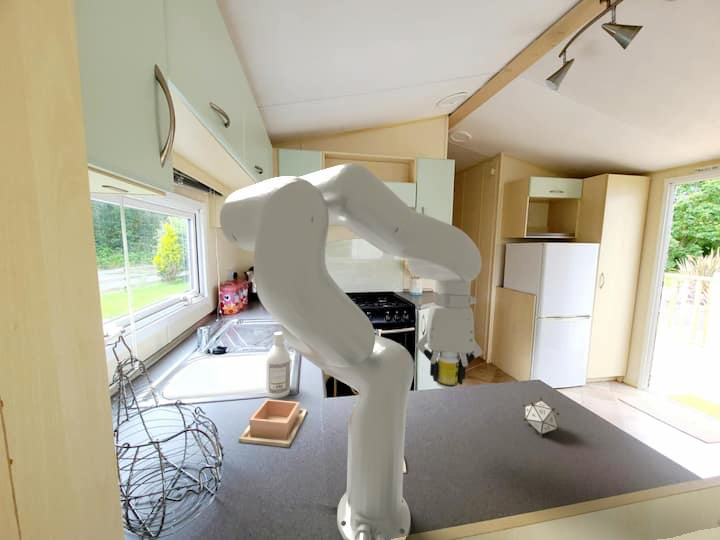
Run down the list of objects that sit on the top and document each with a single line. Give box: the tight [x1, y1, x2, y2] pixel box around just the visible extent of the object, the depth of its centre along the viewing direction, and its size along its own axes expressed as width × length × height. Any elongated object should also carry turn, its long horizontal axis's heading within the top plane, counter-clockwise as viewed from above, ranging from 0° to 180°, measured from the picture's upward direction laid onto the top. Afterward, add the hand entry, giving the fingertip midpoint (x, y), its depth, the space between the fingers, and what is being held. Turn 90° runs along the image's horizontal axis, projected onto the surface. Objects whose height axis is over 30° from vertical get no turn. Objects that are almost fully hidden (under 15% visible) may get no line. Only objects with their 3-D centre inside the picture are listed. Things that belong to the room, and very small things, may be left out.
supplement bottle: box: [435, 352, 460, 390], centre depth 64 cm, size 5×5×8 cm
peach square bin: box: [249, 399, 301, 439], centre depth 71 cm, size 9×9×4 cm
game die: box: [521, 397, 563, 438], centre depth 73 cm, size 9×8×10 cm
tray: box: [238, 408, 308, 448], centre depth 71 cm, size 14×12×2 cm
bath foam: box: [266, 331, 291, 399], centre depth 87 cm, size 7×7×20 cm
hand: (446, 379), depth 64 cm, fingers closed on supplement bottle, 4 cm apart
